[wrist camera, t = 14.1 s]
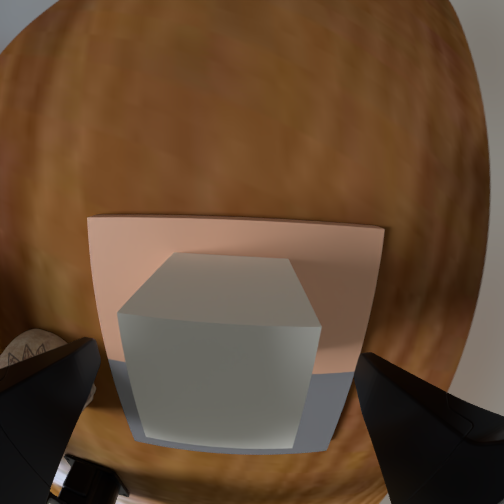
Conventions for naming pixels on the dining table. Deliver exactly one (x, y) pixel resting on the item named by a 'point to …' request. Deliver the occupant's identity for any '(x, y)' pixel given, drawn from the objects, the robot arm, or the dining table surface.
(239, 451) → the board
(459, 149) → the dining table surface
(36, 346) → the figurine
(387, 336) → the dining table surface
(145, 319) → the cream block
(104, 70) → the dining table surface
